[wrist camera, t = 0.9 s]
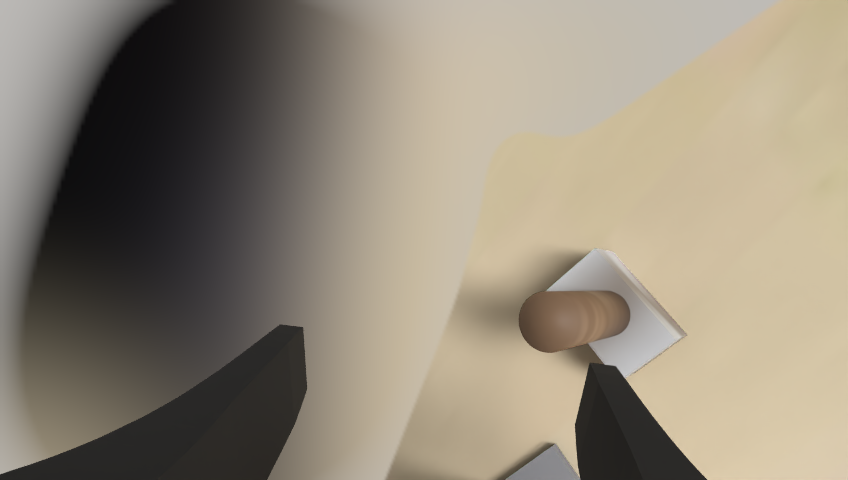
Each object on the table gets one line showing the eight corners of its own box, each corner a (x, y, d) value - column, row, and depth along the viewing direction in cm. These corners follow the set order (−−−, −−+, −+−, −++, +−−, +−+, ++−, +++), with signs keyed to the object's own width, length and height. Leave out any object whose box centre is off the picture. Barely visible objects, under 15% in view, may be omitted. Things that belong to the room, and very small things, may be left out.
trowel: (687, 334, 24) (635, 358, 16) (634, 372, 25) (560, 413, 17) (613, 251, 26) (533, 234, 18) (567, 290, 28) (473, 291, 19)
